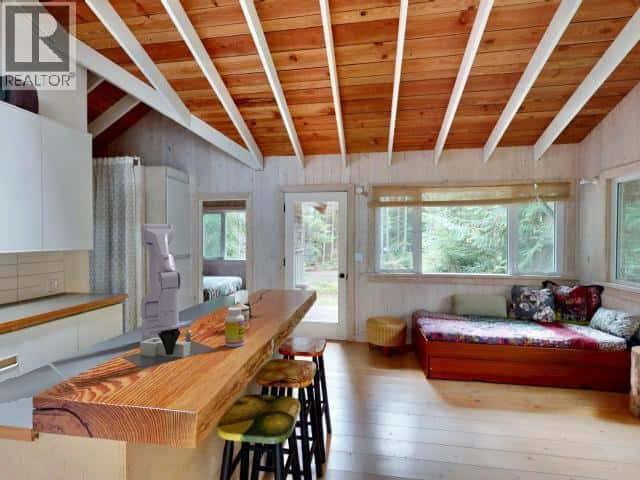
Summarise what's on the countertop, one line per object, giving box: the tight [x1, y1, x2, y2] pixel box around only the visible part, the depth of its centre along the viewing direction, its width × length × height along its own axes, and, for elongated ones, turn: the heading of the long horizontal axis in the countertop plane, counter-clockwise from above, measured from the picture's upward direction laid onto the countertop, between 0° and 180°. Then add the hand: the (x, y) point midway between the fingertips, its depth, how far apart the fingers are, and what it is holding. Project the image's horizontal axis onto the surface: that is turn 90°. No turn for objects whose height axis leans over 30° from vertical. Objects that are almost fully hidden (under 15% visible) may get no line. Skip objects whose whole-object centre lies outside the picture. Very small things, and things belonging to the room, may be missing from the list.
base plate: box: [121, 340, 218, 369], centre depth 115 cm, size 17×24×1 cm
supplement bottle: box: [224, 307, 245, 348], centre depth 126 cm, size 7×7×13 cm
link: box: [139, 338, 190, 359], centre depth 114 cm, size 16×6×4 cm, turn 70°
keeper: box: [179, 329, 192, 346], centre depth 120 cm, size 2×6×6 cm, turn 2°
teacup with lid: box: [227, 300, 250, 331], centre depth 151 cm, size 12×9×12 cm
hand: (169, 354), depth 109 cm, fingers closed
